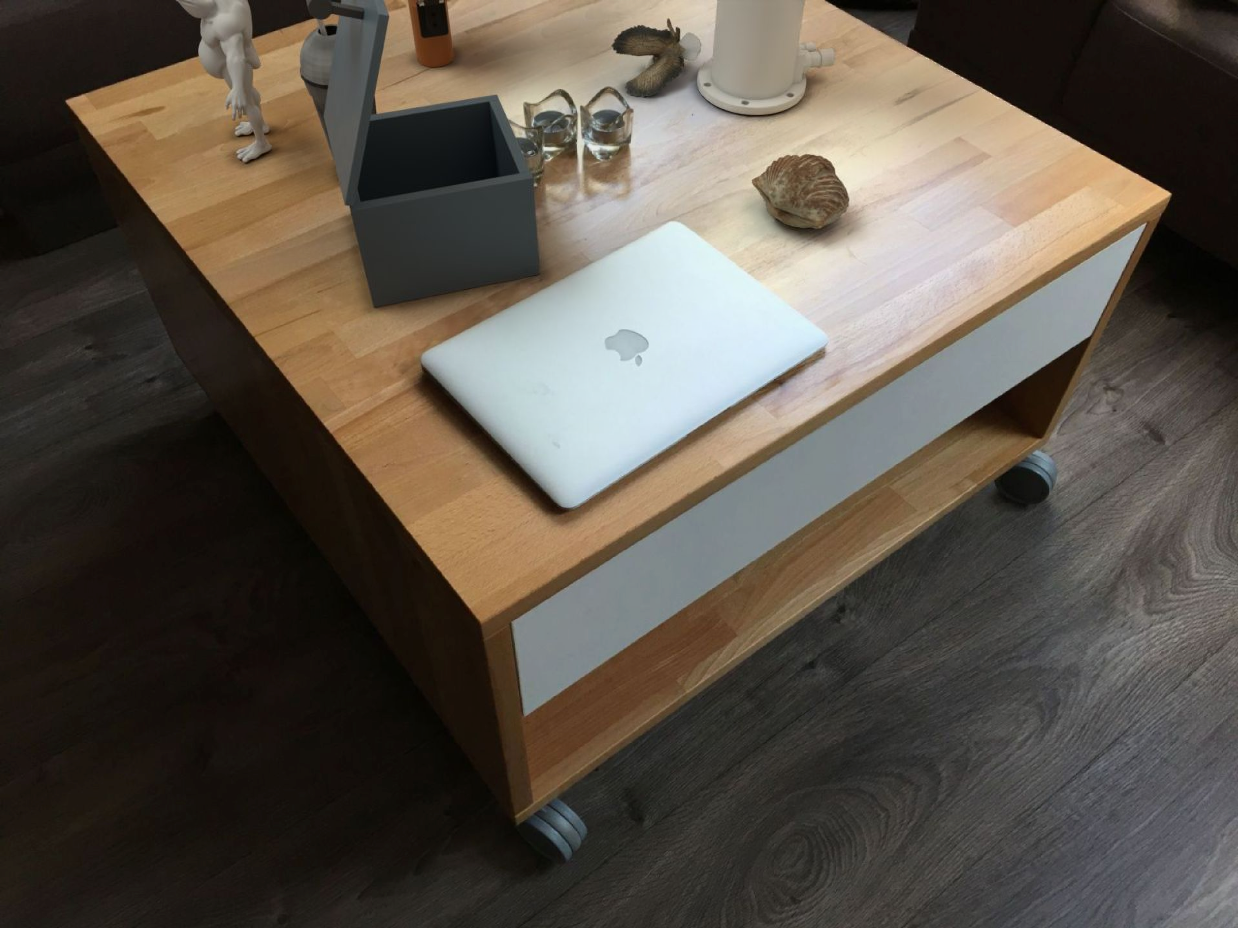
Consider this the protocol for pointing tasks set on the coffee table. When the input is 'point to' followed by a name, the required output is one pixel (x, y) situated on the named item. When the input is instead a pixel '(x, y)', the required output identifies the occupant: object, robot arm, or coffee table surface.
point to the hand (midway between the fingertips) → (430, 23)
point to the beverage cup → (320, 67)
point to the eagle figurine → (656, 55)
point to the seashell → (803, 191)
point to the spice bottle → (431, 42)
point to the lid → (352, 81)
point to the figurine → (232, 63)
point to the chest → (444, 201)
